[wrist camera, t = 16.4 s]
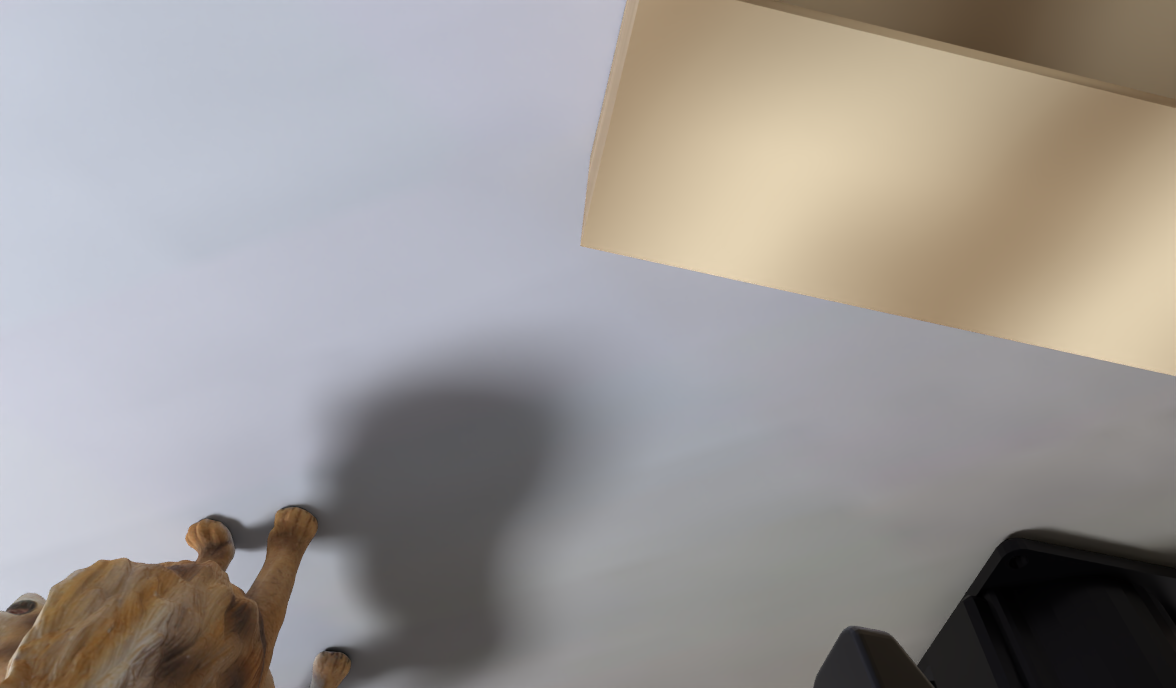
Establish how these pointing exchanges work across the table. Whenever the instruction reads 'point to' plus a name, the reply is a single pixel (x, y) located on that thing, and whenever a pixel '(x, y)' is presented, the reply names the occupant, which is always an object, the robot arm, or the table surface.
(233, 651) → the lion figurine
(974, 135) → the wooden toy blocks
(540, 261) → the table surface
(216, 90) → the table surface
